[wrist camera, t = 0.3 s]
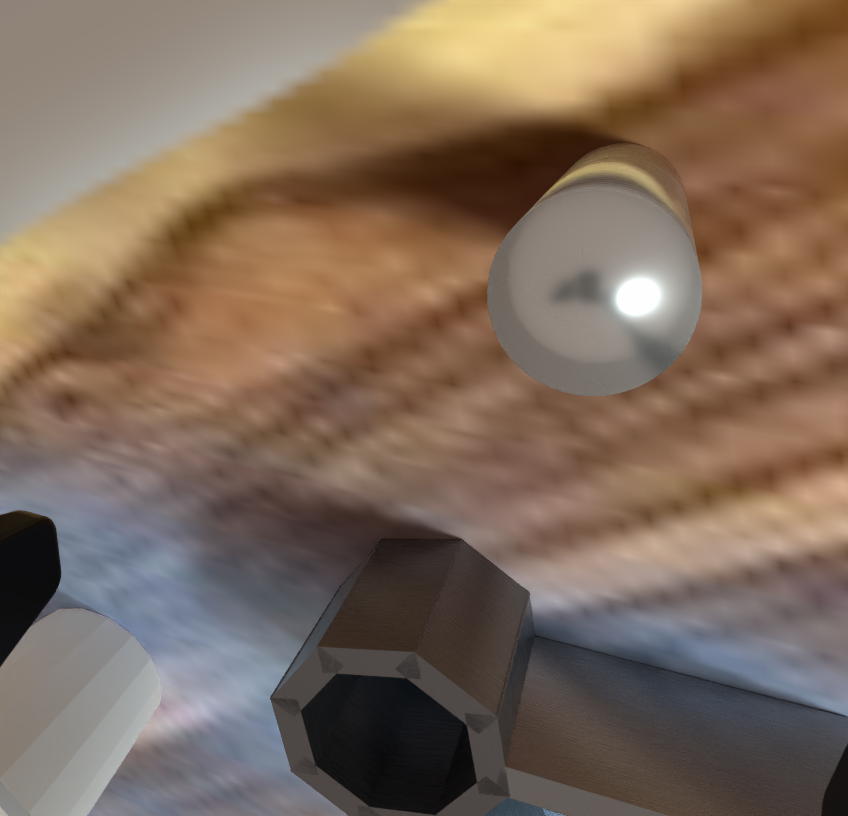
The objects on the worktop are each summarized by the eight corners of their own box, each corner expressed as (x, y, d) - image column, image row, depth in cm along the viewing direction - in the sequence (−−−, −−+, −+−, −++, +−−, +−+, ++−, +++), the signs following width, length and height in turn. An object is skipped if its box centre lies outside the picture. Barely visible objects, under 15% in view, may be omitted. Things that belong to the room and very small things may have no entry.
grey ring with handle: (863, 729, 22) (915, 897, 17) (567, 904, 28) (549, 1063, 23) (481, 425, 21) (433, 518, 17) (265, 670, 27) (188, 786, 23)
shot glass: (41, 719, 32) (-108, 874, 26) (2, 580, 29) (-174, 716, 23) (188, 753, 30) (66, 928, 24) (161, 608, 27) (16, 764, 21)
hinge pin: (714, 199, 17) (751, 284, 10) (624, 298, 19) (602, 434, 12) (612, 114, 17) (577, 143, 10) (528, 221, 19) (447, 310, 12)
